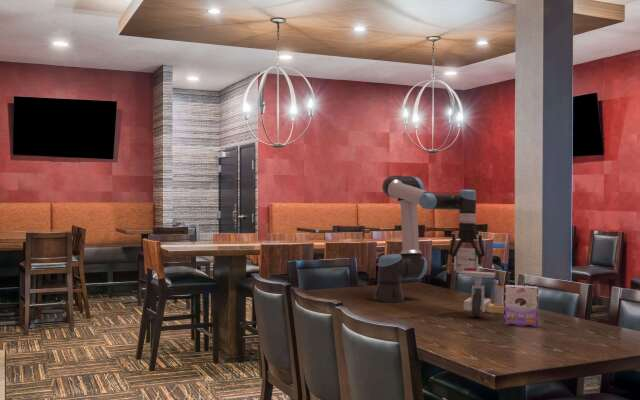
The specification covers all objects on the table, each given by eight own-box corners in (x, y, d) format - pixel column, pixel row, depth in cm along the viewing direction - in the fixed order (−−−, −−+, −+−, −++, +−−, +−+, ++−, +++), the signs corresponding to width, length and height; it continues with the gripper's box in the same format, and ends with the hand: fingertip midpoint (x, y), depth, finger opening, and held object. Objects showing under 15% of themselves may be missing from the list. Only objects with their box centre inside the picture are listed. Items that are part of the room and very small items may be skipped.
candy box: (537, 325, 293) (539, 286, 293) (537, 327, 287) (538, 287, 287) (504, 322, 297) (505, 284, 297) (503, 324, 292) (504, 285, 292)
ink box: (477, 273, 320) (477, 248, 320) (470, 274, 317) (470, 248, 317) (462, 272, 327) (463, 247, 327) (455, 272, 324) (456, 247, 324)
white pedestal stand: (459, 317, 307) (460, 272, 307) (463, 313, 317) (465, 270, 317) (491, 320, 301) (492, 274, 301) (494, 316, 311) (496, 272, 311)
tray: (484, 312, 324) (485, 303, 324) (463, 310, 328) (463, 301, 328) (490, 307, 339) (490, 299, 339) (470, 306, 343) (470, 297, 343)
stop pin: (494, 311, 326) (494, 286, 326) (495, 310, 329) (496, 285, 329) (501, 312, 325) (502, 287, 325) (503, 311, 328) (503, 286, 328)
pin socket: (487, 312, 325) (487, 305, 325) (490, 309, 333) (490, 303, 333) (506, 313, 321) (507, 307, 321) (509, 311, 329) (509, 305, 329)
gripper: (442, 222, 324) (441, 269, 323) (489, 223, 314) (488, 272, 314) (446, 222, 330) (445, 268, 330) (492, 223, 321) (491, 271, 321)
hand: (466, 270), depth 322 cm, fingers closed on ink box, 9 cm apart
